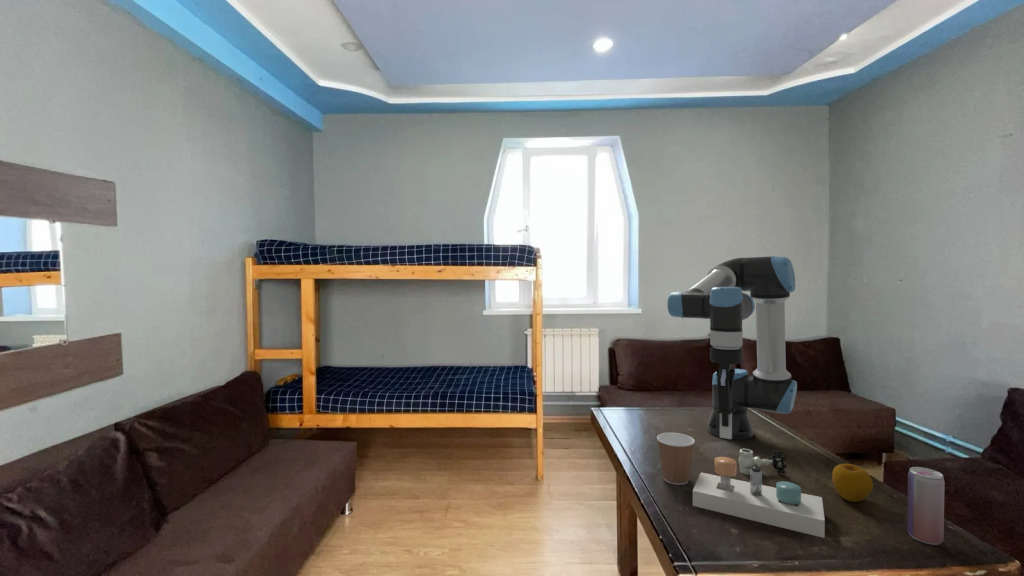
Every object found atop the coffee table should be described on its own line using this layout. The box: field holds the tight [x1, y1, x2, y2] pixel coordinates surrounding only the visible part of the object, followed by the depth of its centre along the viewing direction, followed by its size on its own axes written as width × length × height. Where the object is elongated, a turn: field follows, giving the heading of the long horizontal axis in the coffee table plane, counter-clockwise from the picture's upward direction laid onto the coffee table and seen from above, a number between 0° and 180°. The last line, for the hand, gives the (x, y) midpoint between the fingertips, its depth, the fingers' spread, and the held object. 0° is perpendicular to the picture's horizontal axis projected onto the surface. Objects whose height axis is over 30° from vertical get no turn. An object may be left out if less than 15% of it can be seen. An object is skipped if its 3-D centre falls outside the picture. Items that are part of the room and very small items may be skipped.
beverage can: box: [906, 466, 945, 546], centre depth 101 cm, size 6×6×15 cm
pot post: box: [749, 466, 763, 496], centre depth 114 cm, size 3×3×7 cm
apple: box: [831, 463, 874, 503], centre depth 118 cm, size 8×8×9 cm
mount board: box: [692, 472, 826, 539], centre depth 114 cm, size 12×28×4 cm, turn 58°
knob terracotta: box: [714, 456, 738, 490], centre depth 118 cm, size 5×5×7 cm
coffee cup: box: [656, 432, 696, 486], centre depth 131 cm, size 10×10×12 cm
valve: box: [738, 448, 787, 476], centre depth 134 cm, size 7×7×12 cm
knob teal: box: [775, 481, 802, 506], centre depth 110 cm, size 5×5×7 cm
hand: (725, 437), depth 117 cm, fingers closed
